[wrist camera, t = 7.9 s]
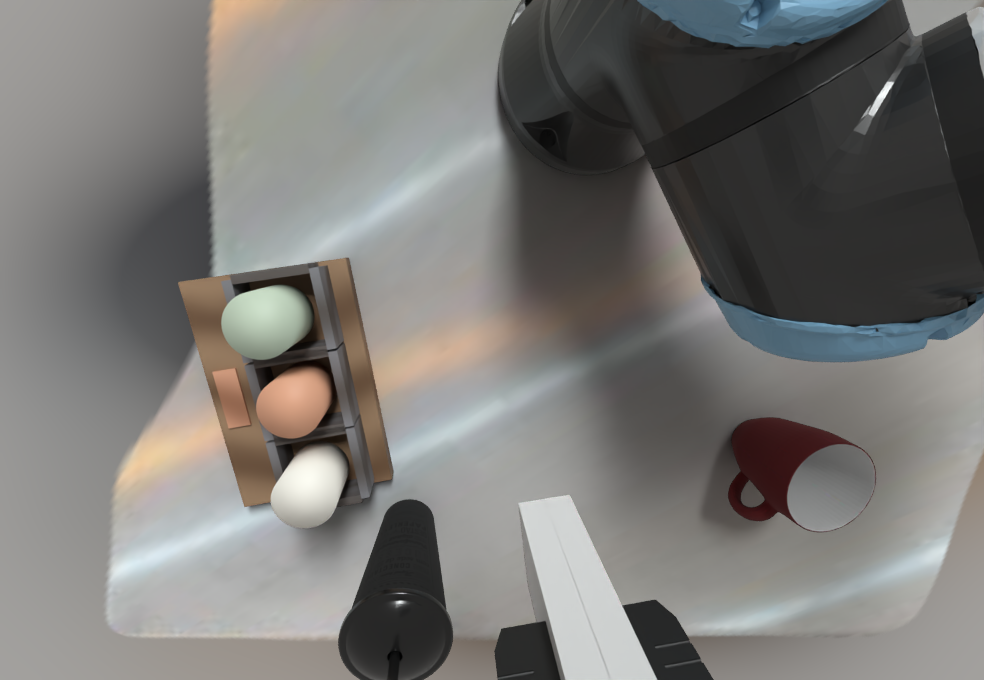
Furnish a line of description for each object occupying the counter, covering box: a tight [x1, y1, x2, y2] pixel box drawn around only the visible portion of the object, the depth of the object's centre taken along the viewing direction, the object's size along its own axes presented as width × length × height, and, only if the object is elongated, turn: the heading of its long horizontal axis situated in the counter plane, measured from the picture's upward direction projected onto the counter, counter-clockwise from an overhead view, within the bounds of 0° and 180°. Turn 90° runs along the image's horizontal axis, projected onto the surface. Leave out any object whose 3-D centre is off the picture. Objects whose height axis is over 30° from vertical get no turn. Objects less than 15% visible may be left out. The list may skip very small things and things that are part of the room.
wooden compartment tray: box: [178, 258, 393, 507], centre depth 38 cm, size 20×13×4 cm, turn 8°
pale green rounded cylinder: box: [221, 284, 315, 360], centre depth 32 cm, size 5×5×5 cm
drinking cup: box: [338, 500, 453, 680], centre depth 34 cm, size 8×8×20 cm
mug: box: [728, 418, 876, 532], centre depth 42 cm, size 11×8×10 cm
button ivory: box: [271, 441, 350, 528], centre depth 35 cm, size 5×5×5 cm
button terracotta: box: [256, 361, 337, 438], centre depth 35 cm, size 5×5×5 cm
